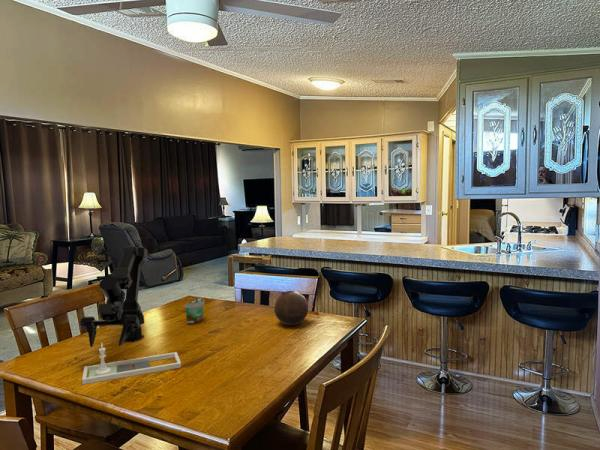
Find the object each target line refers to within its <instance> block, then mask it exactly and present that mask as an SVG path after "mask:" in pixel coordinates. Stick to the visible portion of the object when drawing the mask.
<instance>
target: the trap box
mask: <svg viewBox="0 0 600 450" xmlns="http://www.w3.org/2000/svg"><path fill="white" fill-rule="evenodd" d="M173 358H174V361H175V362H173V363H172V362H171V363H168V364H160V365H156V366H150V362H155V361H161V360H166V359H167V360H168V359H173ZM100 365H101V363H99V364H93V365H87V366H86V365H85V366H83V373H82V380H81V381H82V385H88V384H94V383H99V382H104V381H110V380H117V379H121V378H122V379H123V378H127V377H133V376H139V375H140V376H141V375H145V374H151V373H156V372H163V371H168V370H174V369H180V368H182V362H181V359H180V357H179V354H178V352H177V351H175V352H169V353H163V354H157V355H156V354H154V355H150V356H149V355H148V356H143V357H138V358H131V359H125V360H119V361H118V360H117V361H112V362H105V365H106V367H113V366H116V367H117V371H116V372H117V373H113V374H107V375H101V376H95V377H89V376H88V375H89V371H90V370H95V369H99V368H100ZM133 366H134V367H133Z"/></svg>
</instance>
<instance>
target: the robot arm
mask: <svg viewBox="0 0 600 450" xmlns="http://www.w3.org/2000/svg"><path fill="white" fill-rule="evenodd" d="M122 250H123V251H122V255H121V258H120V261H119V263H118V266H117V268H116V269H115V270H113V271H112V272H111V273H108V274H107V276H105V277H103V278H102V279H101V280H100V281H99V288H100V290H101V291H102V293H103V295H104V296H105V297H106V302H105V303H100V304H98V307H97V314H98V315H99V317H100V319H96V318H95V316H82V317H81V318H80V321H79V322H78V323H79V324H78V325H79V326H80V327H81V329H82V330H83V331H84V332H86V333H87V334H88V340H89V346H90V348H93V347H94V344H95V339H96V336H97V328H98V327H103V326H104V327H105V326H122V330H121V333H120V337H119V341H118V346H119V347H121V346H122V345H123V343H124V342H125V341H127V342H135V341H137V340H139V339H142V338H144V335H143V334H142V327H141V325H143V324H145V316H144V314H143V311H142V307H141V305H140V304H139V301H138V299H139V290H140V278H141V277H140V276H141V268H143V266H144V265H145V263H146V259H147V258H148V249H147V248H145V246H135V245H134V246H130V245H129V246H124V247H123V249H122ZM124 290H126V292H125V291H124Z"/></svg>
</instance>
